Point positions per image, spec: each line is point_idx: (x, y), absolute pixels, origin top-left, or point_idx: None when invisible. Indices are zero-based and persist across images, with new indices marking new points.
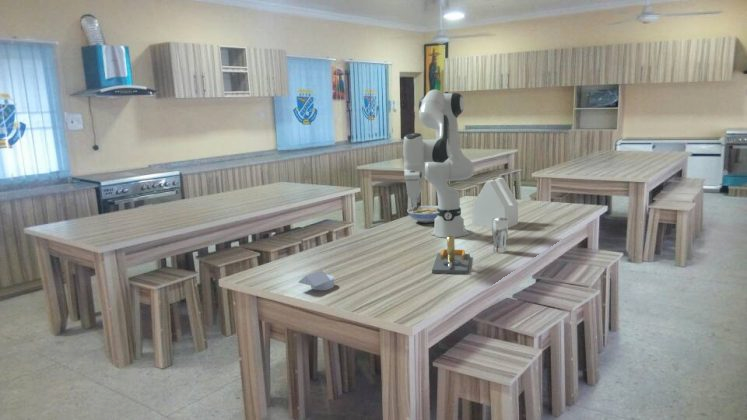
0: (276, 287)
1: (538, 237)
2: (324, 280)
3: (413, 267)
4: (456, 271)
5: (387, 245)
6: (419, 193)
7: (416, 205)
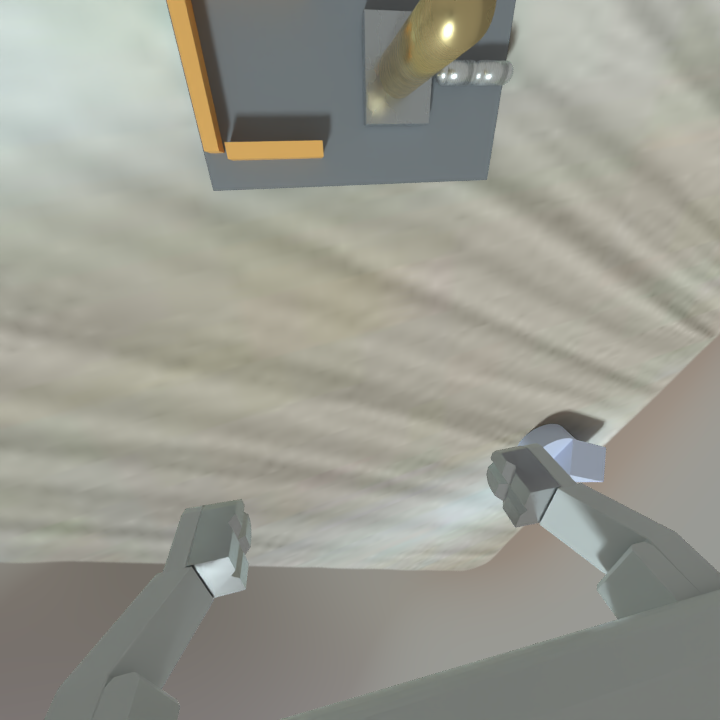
0: None
1: None
2: (583, 446)
3: (401, 275)
4: (507, 31)
5: (124, 441)
6: (476, 679)
7: (543, 455)
